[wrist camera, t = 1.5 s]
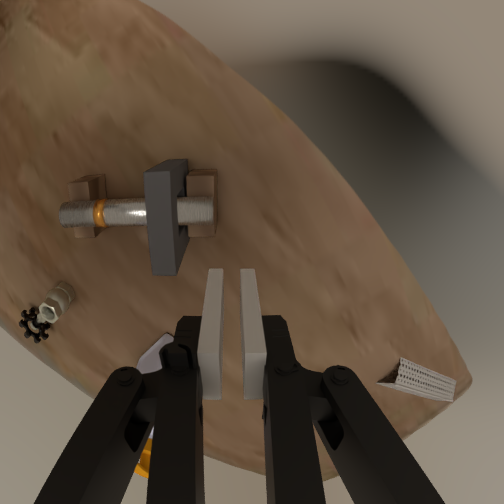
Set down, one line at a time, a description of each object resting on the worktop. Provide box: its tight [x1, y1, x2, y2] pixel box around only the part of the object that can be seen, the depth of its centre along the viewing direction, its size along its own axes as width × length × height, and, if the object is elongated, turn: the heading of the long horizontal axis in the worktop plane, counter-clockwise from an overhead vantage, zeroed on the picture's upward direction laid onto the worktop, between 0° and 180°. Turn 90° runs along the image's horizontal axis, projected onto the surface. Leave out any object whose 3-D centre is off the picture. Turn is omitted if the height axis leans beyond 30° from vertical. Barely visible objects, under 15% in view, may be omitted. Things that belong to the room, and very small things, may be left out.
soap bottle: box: [134, 333, 174, 478], centre depth 36 cm, size 9×7×23 cm
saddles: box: [68, 169, 217, 238], centre depth 34 cm, size 18×7×5 cm, turn 88°
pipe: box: [59, 197, 214, 228], centre depth 30 cm, size 18×3×3 cm, turn 88°
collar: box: [143, 159, 190, 276], centre depth 30 cm, size 2×10×10 cm, turn 178°
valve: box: [19, 282, 75, 343], centre depth 39 cm, size 7×7×12 cm
